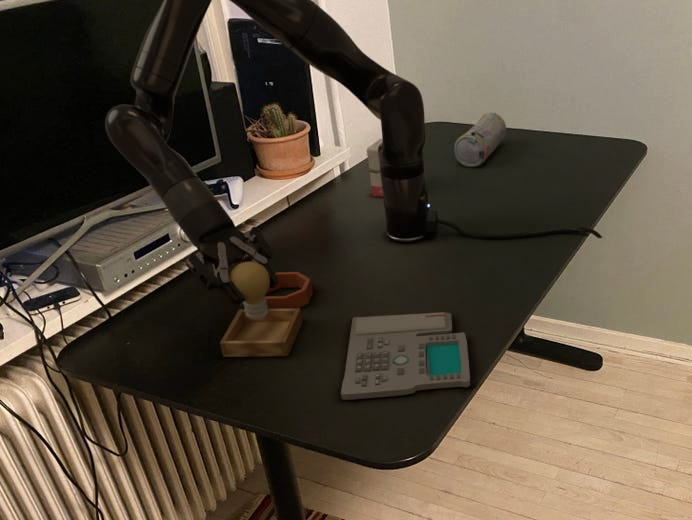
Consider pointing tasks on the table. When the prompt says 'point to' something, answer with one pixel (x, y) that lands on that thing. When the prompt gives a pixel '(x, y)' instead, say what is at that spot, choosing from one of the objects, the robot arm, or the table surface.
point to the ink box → (375, 168)
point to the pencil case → (480, 140)
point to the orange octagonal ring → (294, 298)
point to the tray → (262, 334)
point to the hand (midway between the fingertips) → (258, 294)
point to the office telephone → (404, 356)
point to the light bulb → (252, 287)
